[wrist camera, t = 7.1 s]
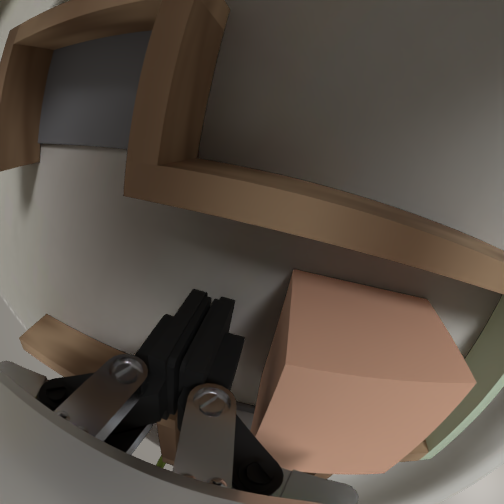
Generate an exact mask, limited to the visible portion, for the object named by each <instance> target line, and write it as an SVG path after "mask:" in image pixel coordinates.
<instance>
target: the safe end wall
mask: <svg viewBox="0 0 504 504" xmlns="http://www.w3.org/2000/svg"><path fill="white" fill-rule="evenodd" d="M464 360H465V362H466V363H467V365H468V367H469V369H470V371H471V373H472V375H473V377H474V378H475V380H476V382H477V383H476V384H475V386H474V387H473V388H472V389H471V391H470V392H469V393H468V394H467V395H466V397H465V398H464V399H463V400H462V401H461V402H460V404H459V405H458V406H457V407H456V408H455V409H454V410H453V411H452V412H451V414H450V415H449V416H448V417H447V418H446V419H445V420H444V421H443V422H442V423H441V424H440V425H439V426H438V427H437V428H436V429H435V430H434V431H433V432H432V433H431V434H430V435H429V436H428V437H427V438H426V443H427V447H428V451H429V453H427V454H426V455H425V456H424V457H422V458H421V459H420V460H425V459H431V458H432V457H434V456H435V455H436V454H437V453H438V452H440V451H441V450H442V449H443V448H444V447H446V446H447V445H448V444H449V443H450V442H451V441H452V440H454V439H455V438H456V437H457V436H458V435H459V434H460V433H461V432H462V431H463V430H464V429H465V428H466V427H467V426H468V425H469V424H470V423H471V422H472V421H473V420H474V419H475V418H476V417H477V416H478V415H479V414H480V413H481V412H482V411H483V410H484V409H485V408H486V407H487V405H488V404H489V403H490V402H491V401H492V400H493V399H494V397H495V396H496V395H497V394H498V393H499V392H500V390H501V389H502V388H503V387H504V295H502V297H501V299H500V301H499V303H498V305H497V306H496V308H495V310H494V312H493V314H492V316H491V318H490V319H489V321H488V323H487V325H486V326H485V328H484V330H483V331H482V333H481V335H480V336H479V338H478V339H477V341H476V343H475V344H474V346H473V347H472V349H471V350H470V352H469V353H468V355H467V356H466V358H465V359H464Z"/></svg>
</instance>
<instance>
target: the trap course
mask: <svg viewBox="0 0 504 504" xmlns="http://www.w3.org/2000/svg"><path fill="white" fill-rule="evenodd" d="M229 12H230V9H229V7H228V5H227V4H226V2H225V0H70V1H68V2H65V3H63V4H60V5H58V6H56V7H54V8H51V9H49V10H47V11H45V12H43V13H41V14H39V15H37V16H35V17H33V18H31V19H29V20H27V21H26V22H24V23H22V24H20V25H18V26H17V27H15V28H13V29H12V30H10V32H9V35H8V38H7V41H6V44H5V48H4V51H3V55H2V59H1V62H0V171H4V170H8V169H11V168H15V167H19V166H24V165H28V164H32V163H37V162H39V160H40V143H38V135H39V125H40V117H41V109H42V103H43V97H44V91H45V86H46V81H47V76H48V72H49V67H50V63H51V59H52V55H53V52H54V50H56V49H59V48H62V47H66V46H69V45H73V44H77V43H81V42H85V41H89V40H94V39H98V38H103V37H109V36H114V35H120V34H127V33H134V32H142V31H152V33H151V36H150V40H149V43H148V47H147V51H146V54H145V58H144V62H143V66H142V71H141V75H140V79H139V84H138V89H137V94H136V99H135V104H134V110H133V116H132V122H131V129H130V136H129V143H128V151H127V160H126V170H125V181H124V195H123V196H126V197H131V198H136V199H141V200H146V201H150V202H155V203H160V204H164V205H169V206H174V207H178V208H183V209H187V210H192V211H196V212H201V213H205V214H209V215H214V216H218V217H223V218H227V219H231V220H235V221H240V222H244V223H248V224H252V225H256V226H260V227H265V228H269V229H273V230H277V231H281V232H285V233H289V234H293V235H297V236H301V237H305V238H309V239H313V240H316V241H320V242H324V243H328V244H332V245H336V246H339V247H343V248H347V249H351V250H354V251H358V252H362V253H365V254H369V255H373V256H376V257H380V258H384V259H387V260H391V261H394V262H398V263H401V264H405V265H408V266H412V267H415V268H419V269H422V270H426V271H429V272H432V273H436V274H439V275H443V276H446V277H449V278H453V279H456V280H459V281H462V282H466V283H469V284H472V285H475V286H478V287H482V288H485V289H488V290H491V291H494V292H497V293H500V294H503V295H504V251H503V250H501V249H499V248H497V247H494V246H492V245H490V244H488V243H486V242H483V241H481V240H479V239H476V238H474V237H472V236H469V235H467V234H465V233H462V232H460V231H457V230H455V229H452V228H450V227H447V226H445V225H442V224H440V223H437V222H435V221H432V220H429V219H427V218H424V217H421V216H418V215H416V214H413V213H410V212H407V211H404V210H401V209H398V208H395V207H393V206H390V205H386V204H383V203H380V202H377V201H374V200H371V199H368V198H364V197H361V196H358V195H355V194H351V193H348V192H344V191H341V190H337V189H334V188H330V187H327V186H323V185H319V184H315V183H312V182H308V181H304V180H300V179H296V178H292V177H288V176H283V175H279V174H275V173H271V172H266V171H262V170H257V169H252V168H247V167H243V166H238V165H233V164H227V163H222V162H217V161H211V160H205V159H200V158H197V155H198V149H199V143H200V137H201V132H202V126H203V121H204V116H205V111H206V106H207V101H208V96H209V92H210V87H211V83H212V78H213V74H214V69H215V65H216V61H217V57H218V53H219V49H220V45H221V41H222V37H223V33H224V30H225V26H226V22H227V19H228V15H229ZM19 339H20V341H21V344H22V346H23V349H24V350H25V351H27V352H28V353H30V354H31V355H32V356H34V357H35V358H36V359H38V360H39V361H41V362H42V363H44V364H45V365H47V366H48V367H50V368H51V369H53V370H54V371H56V372H57V373H59V374H60V375H62V376H64V377H69V376H75V375H82V374H88V373H94V372H96V371H97V370H98V369H99V368H100V367H101V366H102V365H104V364H105V363H106V362H107V361H108V360H109V359H110V358H112V357H113V356H116V355H119V354H126V353H124V352H121V351H119V350H117V349H114V348H112V347H110V346H108V345H106V344H103V343H101V342H99V341H97V340H95V339H93V338H91V337H89V336H87V335H85V334H83V333H81V332H79V331H77V330H75V329H73V328H71V327H69V326H67V325H66V324H64V323H62V322H60V321H58V320H56V319H55V318H53V317H51V316H49V315H48V314H46V315H45V316H43V317H42V318H41V319H40V320H39V321H38V322H36V323H35V324H34V325H33V326H32V327H31V328H30V329H28V330H27V331H26V332H25V333H24V334H23V335H22V336H21V337H20V338H19ZM177 411H178V409H177ZM156 423H157V428H158V435H159V442H160V448H161V454H162V460H163V462H165V463H167V464H170V465H173V466H174V461H175V456H176V451H177V446H178V441H179V436H180V431H179V429H178V428H177V412H176V414H175V415H172V414H170V415H169V417H168V419H167V420H164V419H161V421H160V422H156ZM427 453H429V451H428V447H427V443H426V439H425V440H423V441H422V442H421V443H420V444H419V445H418V446H417V447H416V448H415V449H413V450H412V451H411V452H410V453H409V454H408V455H406V456H405V457H404V458H403V459H402V460H400V461H399V462H405V461H416V460H420V459H421V458H422V457H424V456H425V455H426V454H427ZM303 473H307V474H310V475H313V476H317V477H320V478H324V479H327V478H329V477H330V476H331V475H332V474H323V473H309V472H303Z"/></svg>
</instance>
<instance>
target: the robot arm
mask: <svg viewBox="0 0 504 504" xmlns="http://www.w3.org/2000/svg"><path fill="white" fill-rule="evenodd" d="M234 304H235V300H232V299H228V298H225V297H221V298H220V300H218V299H214V301H213V303H212V305H211V297H207V292H203V291H200V290H196V289H193V290H192V291H191V293H190V294H189V296H188V297H187V298H186V300H185V301H184V303H183V304H182V306H181V307H180V309H179V310H178V312H177V313H176V314H175V316H171V315H168V314H166V315H164V316H163V317H162V319H161V320H160V321H159V323H158V324H157V325H156V327H155V328H154V330H153V331H152V332H151V334H150V335H149V336H148V338H147V339H146V341H145V342H144V343H143V345H142V346H141V348H140V349H139V350H138V352H137V353H136V355H135V356H134V355H129V354H119V355H116V356H113V357H112V358H110V359H109V360H108V361H107V362H106V363H105V364H104V365H102V366H101V367H100V368H99V369H98V370H97V371H96V372H94V373H88V374H82V375H75V376H69V377H62V378H55V379H51V380H47V378H46V376H43V375H41V374H38V373H36V372H33V371H31V370H29V369H26V368H24V367H22V366H19V365H17V364H15V363H13V362H10V361H2V362H0V504H358V498H359V496H358V494H357V492H356V490H355V489H354V488H353V487H352V486H349V485H347V484H344V483H340V482H336V481H332V480H328V479H324V478H320V477H317V476H313V475H310V474H307V473H303V472H300V471H297V470H294V469H293V470H292V471H290V470H287V469H284V468H281V467H280V465H279V464H278V462H277V461H276V460H275V459H274V458H273V457H272V456H271V455H270V454H269V452H268V451H267V450H266V449H265V448H264V447H263V446H262V444H261V443H260V442H259V441H258V440H257V439H256V437H255V436H254V435H253V434H252V433H251V431H250V430H249V429H248V428H247V427H246V425H245V424H244V423H243V422H242V420H241V419H240V418H239V417H238V415H237V414H236V406H237V405H236V399H235V397H234V395H233V394H232V393H231V392H230V390H231V386H232V383H233V379H234V376H235V373H236V369H237V366H238V362H239V358H240V355H241V351H242V347H243V343H244V339H245V337H242V336H238V335H234V334H231V333H229V328H230V323H231V318H232V313H233V309H234ZM210 306H211V307H210ZM177 409H178V411H177ZM176 412H177V428H178V429H179V431H180V436H179V441H178V446H177V451H176V456H175V461H174V466H173V472H172V471H169V470H166V469H163V468H161V467H158V466H156V465H153V464H151V463H148V462H145V461H143V460H141V459H138V458H136V457H134V456H132V453H133V452H134V451H135V449H136V448H137V447H138V445H139V444H140V443H141V441H142V440H143V439H144V437H145V436H146V435H147V433H148V432H149V431H150V429H151V427H152V425H153V423H156V422H160V421H161V419H164V420H167V419H168V417H169V415H170V414H172V415H175V414H176Z"/></svg>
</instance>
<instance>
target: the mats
mask: <svg viewBox="0 0 504 504" xmlns="http://www.w3.org/2000/svg"><path fill="white" fill-rule="evenodd" d="M151 33H152V31H142V32H134V33H127V34H120V35H114V36H109V37H103V38H98V39H94V40H89V41H85V42H81V43H77V44H73V45H69V46H66V47H62V48H59V49H56V50H54V52H53V55H52V59H51V63H50V67H49V72H48V76H47V81H46V86H45V91H44V97H43V103H42V109H41V117H40V125H39V135H38V143H44V144H70V145H86V146H100V147H111V148H121V149H128V143H129V136H130V129H131V122H132V116H133V110H134V104H135V99H136V94H137V89H138V84H139V79H140V75H141V71H142V66H143V62H144V58H145V54H146V51H147V47H148V43H149V40H150V36H151ZM236 405H237V406H236V410H240V411H244V412H249V413H253V414H254V411H255V406H251V405H247V404H243V403H239V402H236Z"/></svg>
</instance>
